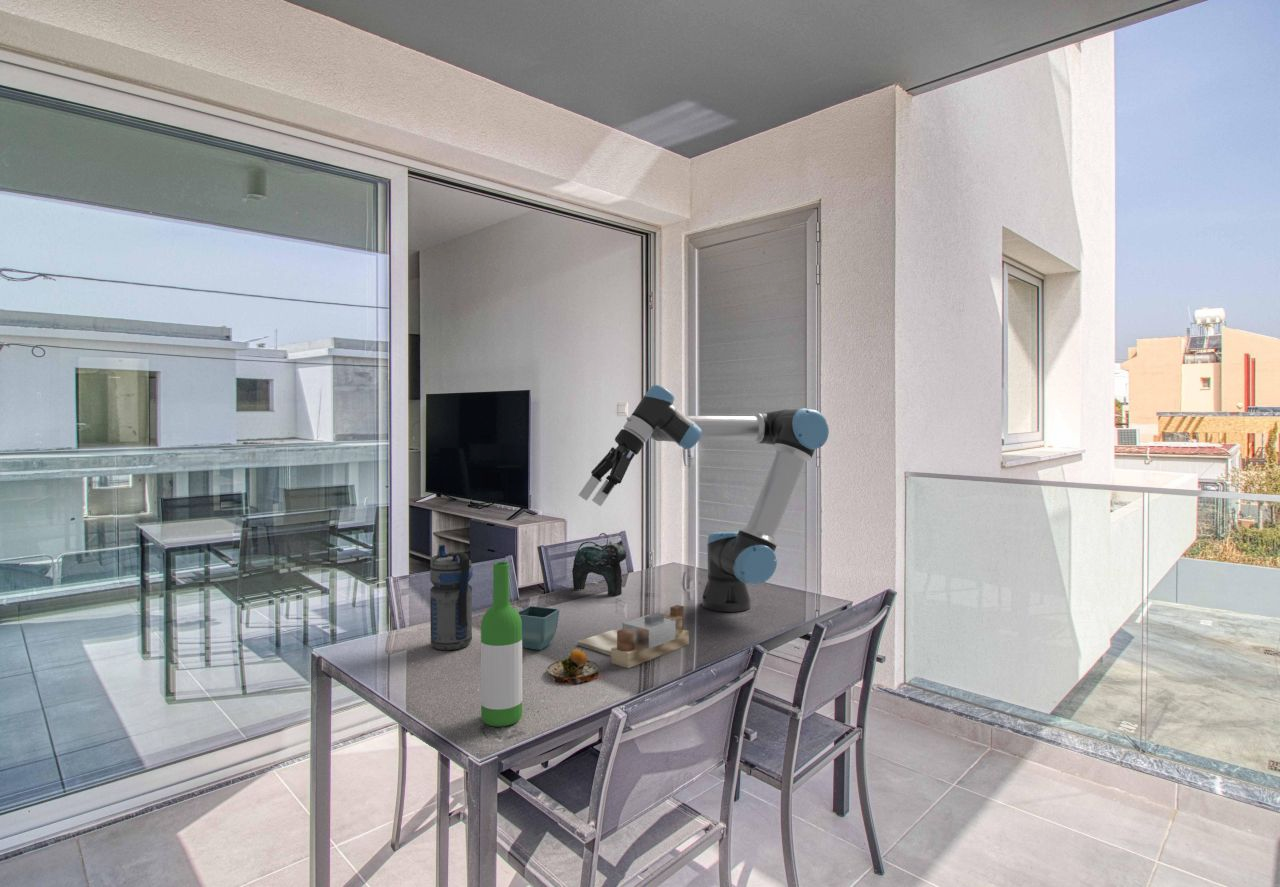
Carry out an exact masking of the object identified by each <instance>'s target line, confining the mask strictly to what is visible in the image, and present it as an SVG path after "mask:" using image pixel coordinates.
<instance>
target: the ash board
mask: <svg viewBox="0 0 1280 887" xmlns="http://www.w3.org/2000/svg"><path fill="white" fill-rule="evenodd" d="M618 630H619V629H618V628H614V629H611V630H608V631H605V632H602V633H599V634H596V635H593V636H590V637H587V638H584V639H581V640H578V641H577V646H579V647H582V648H583V647H584V648H586V649H589V650H592V651H595V652H597V653H601V654H605V655H607V656H610V657H611V648H613V647H616V646H617V631H618Z"/></svg>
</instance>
